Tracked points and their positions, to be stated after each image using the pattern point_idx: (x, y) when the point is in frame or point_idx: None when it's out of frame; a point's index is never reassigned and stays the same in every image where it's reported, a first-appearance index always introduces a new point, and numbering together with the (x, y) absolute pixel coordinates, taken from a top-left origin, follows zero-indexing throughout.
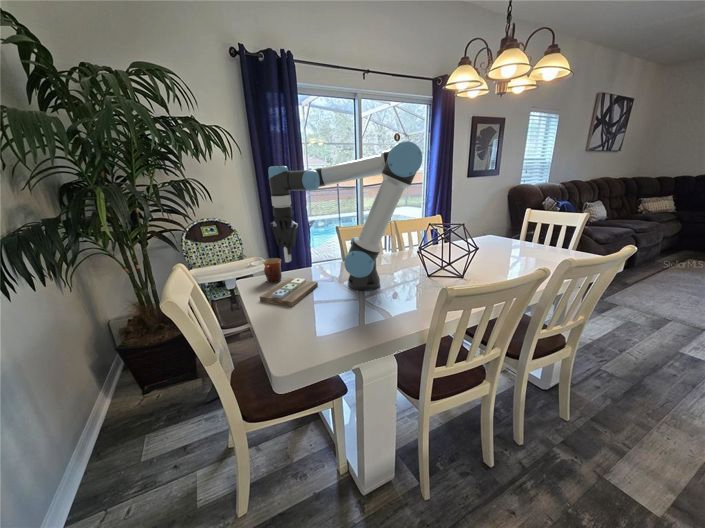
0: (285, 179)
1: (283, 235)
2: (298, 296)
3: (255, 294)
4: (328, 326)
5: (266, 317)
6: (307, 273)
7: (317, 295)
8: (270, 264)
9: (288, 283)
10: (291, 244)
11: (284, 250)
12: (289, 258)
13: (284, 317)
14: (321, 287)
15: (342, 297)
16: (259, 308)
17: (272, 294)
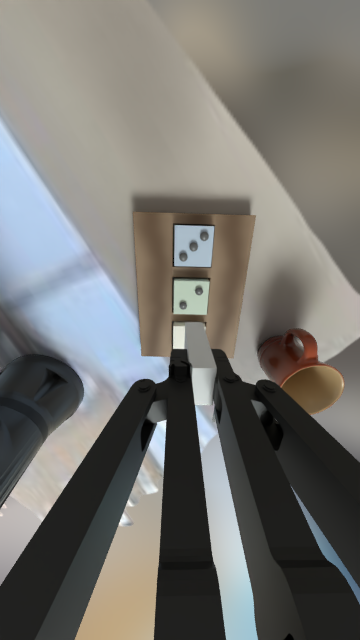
0: None
1: (241, 484)
2: (137, 255)
3: (286, 253)
4: None
5: (169, 109)
6: (209, 405)
7: (112, 300)
8: (303, 365)
9: (205, 314)
10: (138, 390)
11: (207, 355)
12: (185, 343)
13: (115, 132)
14: (130, 345)
15: (46, 308)
16: (225, 165)
17: (213, 226)
